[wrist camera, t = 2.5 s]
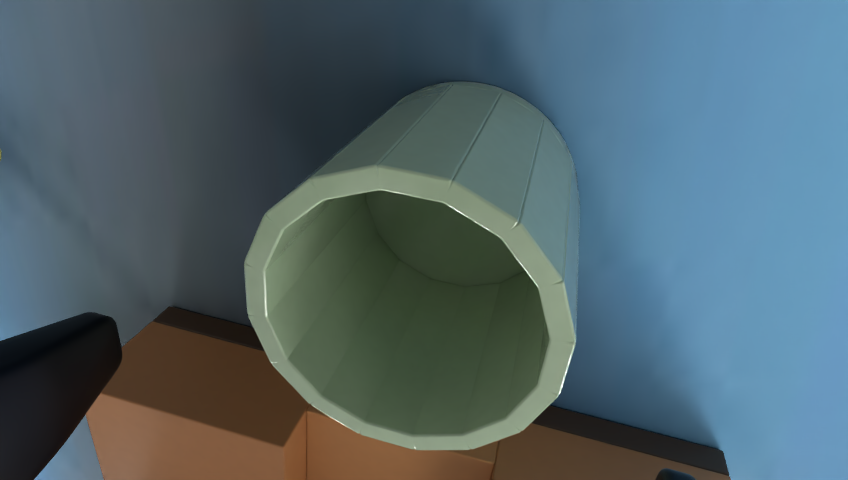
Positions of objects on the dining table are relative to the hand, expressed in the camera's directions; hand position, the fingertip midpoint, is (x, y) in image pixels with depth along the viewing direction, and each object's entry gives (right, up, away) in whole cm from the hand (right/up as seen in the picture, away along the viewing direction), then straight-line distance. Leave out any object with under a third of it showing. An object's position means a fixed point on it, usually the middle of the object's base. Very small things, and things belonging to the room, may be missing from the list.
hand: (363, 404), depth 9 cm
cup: (+2, +4, +7) cm, 8 cm away
